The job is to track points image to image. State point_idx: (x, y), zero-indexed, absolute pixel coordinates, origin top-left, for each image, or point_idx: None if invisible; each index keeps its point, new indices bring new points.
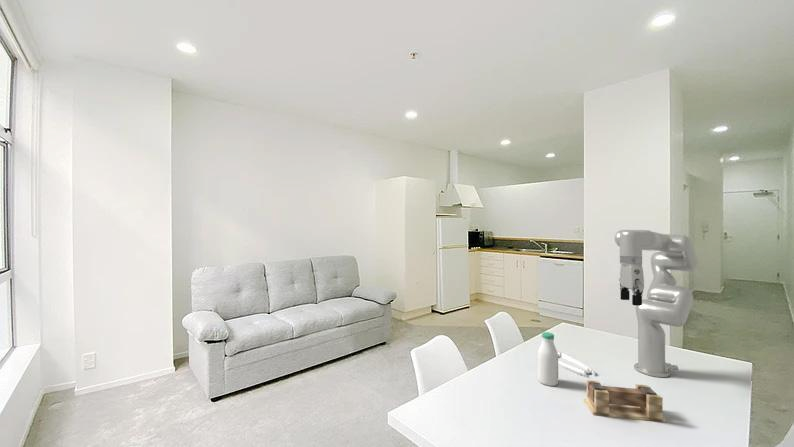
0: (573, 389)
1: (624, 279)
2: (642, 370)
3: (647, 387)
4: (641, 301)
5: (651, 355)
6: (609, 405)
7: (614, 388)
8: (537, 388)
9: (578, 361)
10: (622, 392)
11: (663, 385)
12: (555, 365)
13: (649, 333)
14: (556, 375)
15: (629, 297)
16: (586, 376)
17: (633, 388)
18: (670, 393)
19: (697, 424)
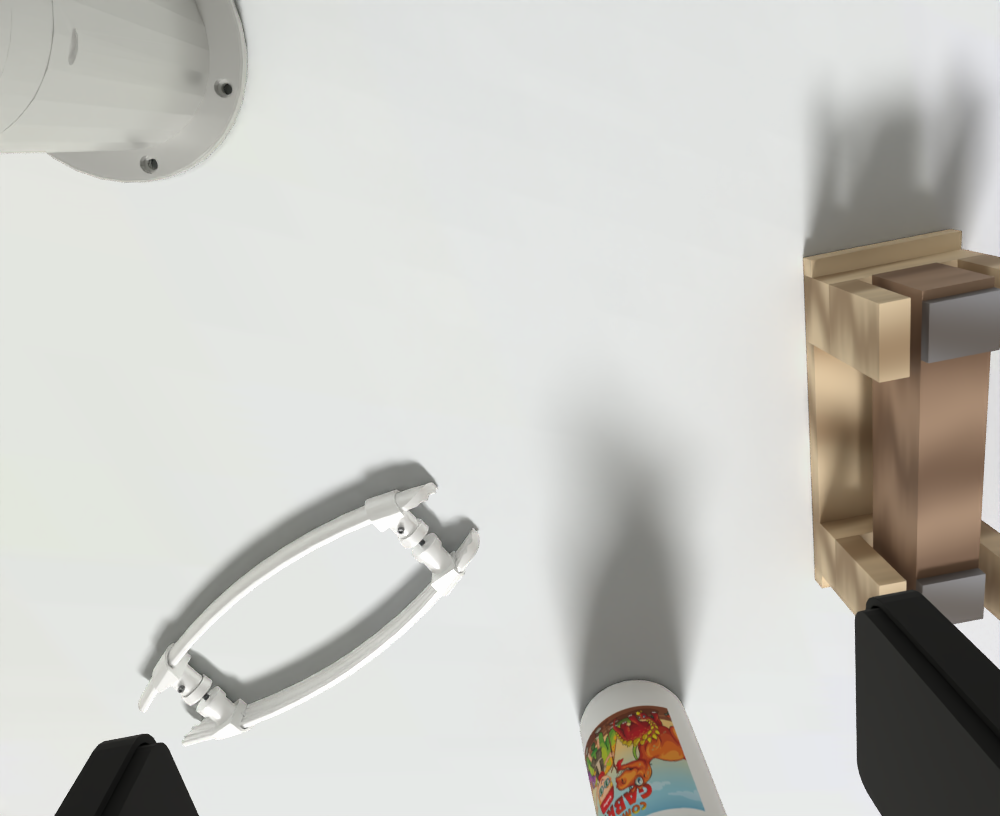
0: (681, 612)
1: None
2: (203, 143)
3: (908, 316)
4: (988, 676)
5: (149, 60)
6: (864, 481)
7: (942, 511)
8: (725, 758)
9: (275, 573)
10: (980, 475)
11: (402, 51)
12: (709, 785)
13: (9, 50)
14: (683, 728)
15: (108, 794)
16: (477, 536)
17: (918, 402)
18: (536, 51)
19: (940, 51)
